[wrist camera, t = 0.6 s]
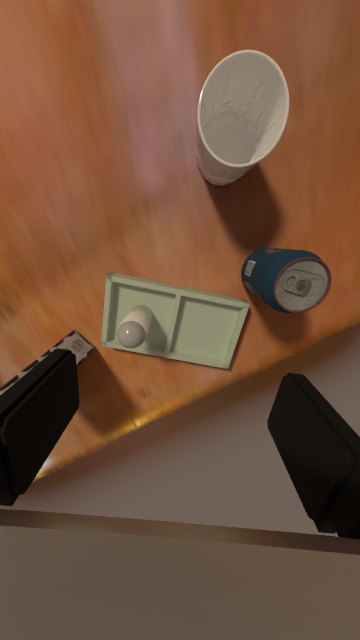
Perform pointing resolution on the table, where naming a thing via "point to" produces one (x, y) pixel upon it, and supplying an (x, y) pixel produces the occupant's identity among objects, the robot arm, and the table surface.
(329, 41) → the table surface
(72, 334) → the candy bar box
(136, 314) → the shaker
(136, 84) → the table surface
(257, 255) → the soda can
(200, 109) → the white cup
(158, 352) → the caddy
